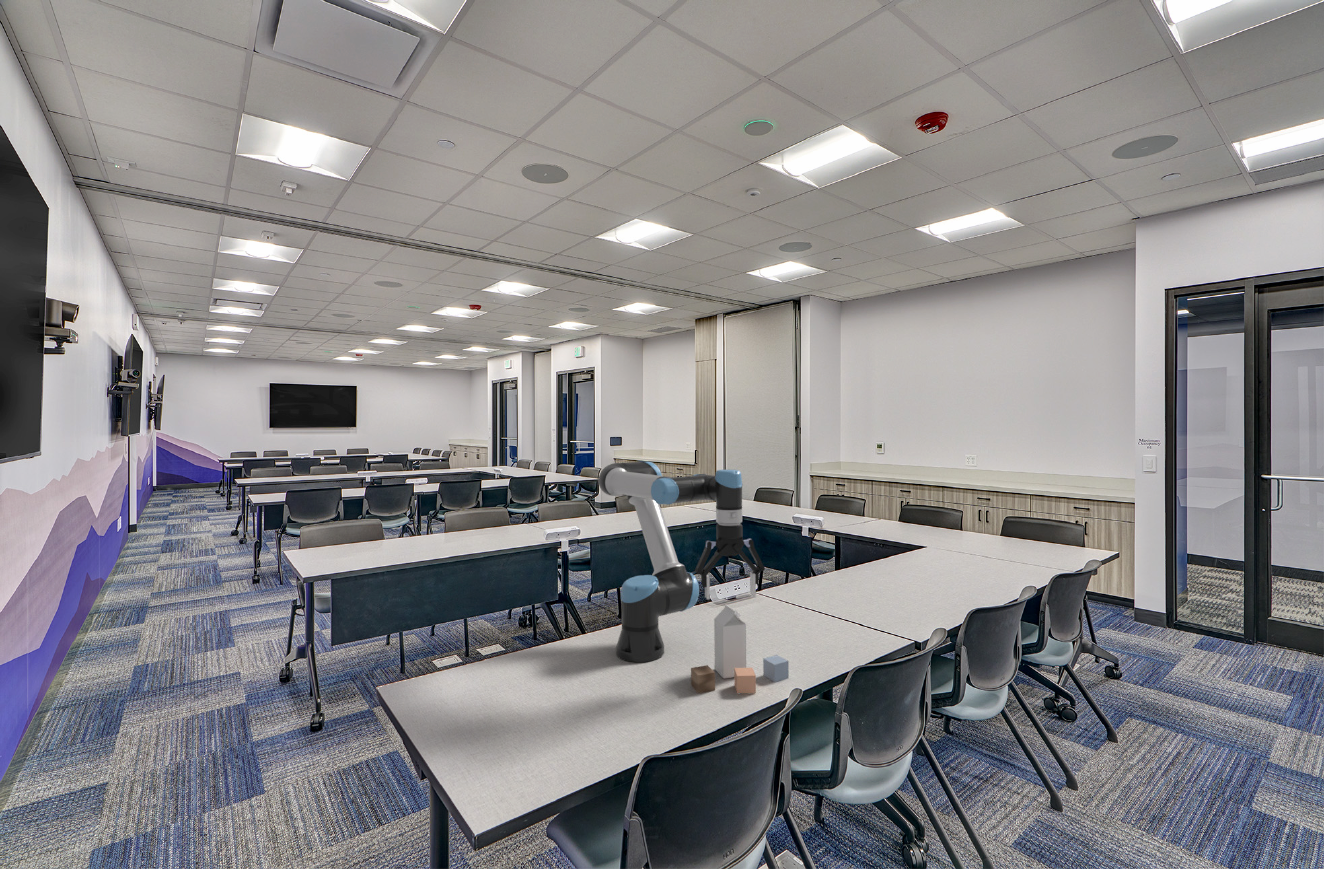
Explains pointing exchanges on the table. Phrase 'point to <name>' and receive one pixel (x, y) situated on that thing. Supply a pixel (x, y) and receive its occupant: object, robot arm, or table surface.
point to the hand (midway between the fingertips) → (730, 596)
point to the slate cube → (775, 668)
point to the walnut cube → (703, 679)
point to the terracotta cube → (744, 680)
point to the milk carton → (729, 642)
